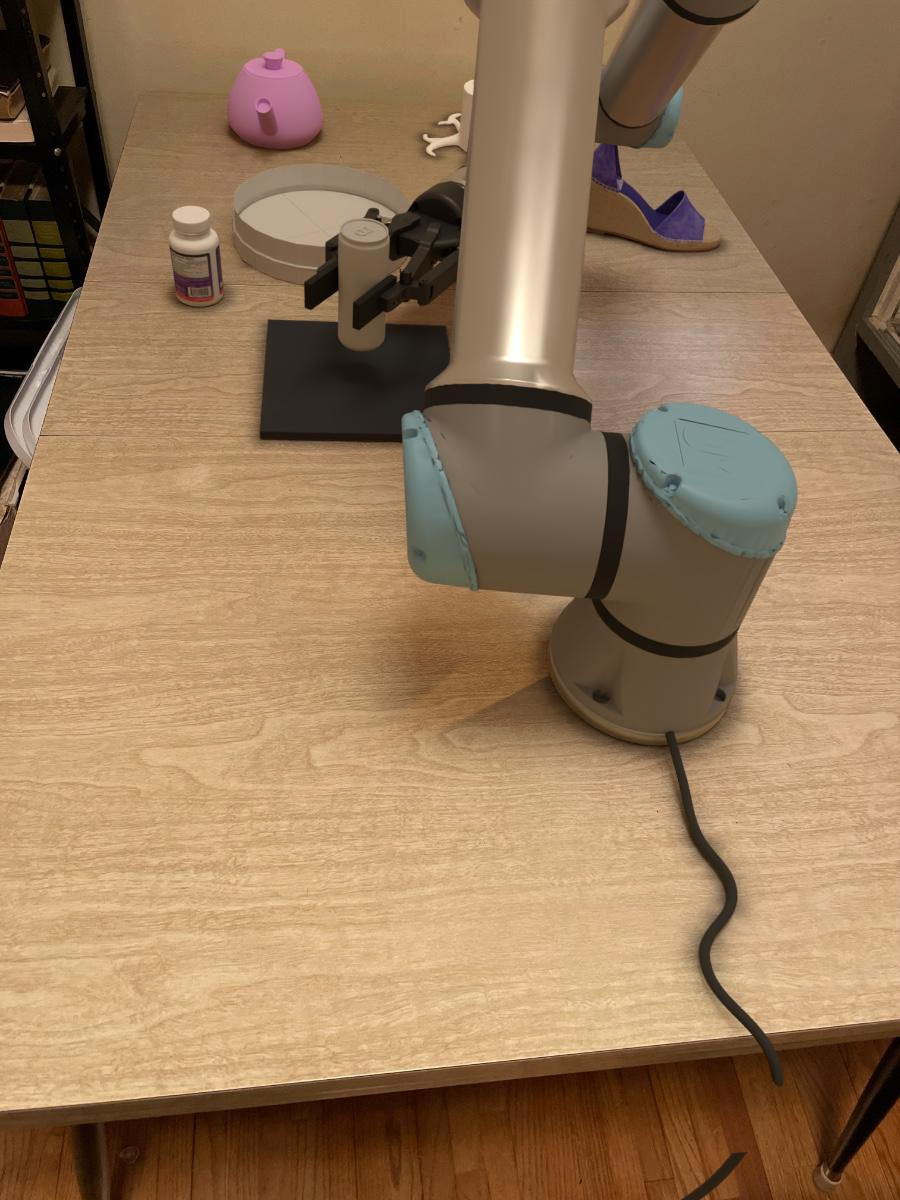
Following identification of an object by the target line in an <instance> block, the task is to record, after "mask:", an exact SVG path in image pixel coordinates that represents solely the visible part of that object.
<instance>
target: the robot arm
mask: <svg viewBox="0 0 900 1200" xmlns="http://www.w3.org/2000/svg"><path fill="white" fill-rule="evenodd" d="M463 2H464V3H465V5H466V7H467V8H468V9H469V10H470V12H471V13H472V14H473V15H474V16H475V17H476V18H477V19H478V21H479V22H478V34H477V42H476V43H477V45H476V56H475V66H474V77H473V80H474V89H473V100H472V111H471V121H470V131H469V139H468V147H467V152H466V156H465V158H466V159H465V162H464V164H462V165H461V166H459V168H457V169H455V170H454V171H453V172H452V173H450V174H449V175H447V176H445V177H444V178H442V179H441V180H439V181H438V182H436V184H433V185H432V186H431V187H429V188H428V189H426V190H425V191H424V192H422V193H421V194H419V195H418V196H417V197H416V198H415V199H414V200H413V201H412V203H411V204H410V208H409V209H408V210H407V212H405V213H401V214H397V215H395V216H394V217H393V218H387V217H382V216H381V215H379V209H377V208H369V209H368V211H367V213H366V215H365V217H363V218H367V219H373V220H376V221H379V222H381V223H383V224H384V225H385V226H386V227H387V228H388V231H389V233H388V235H389V238H390V245H389V259H390V260H391V261H396V260H398V259H400V258H403V257H405V256H408V257H409V258H410V259H409V260H408V262H407V264H406V265H405V267H404V268H399V276H397V275H394V274H392V273H390V274H388V276H387V277H386V278H385V279H383V280H382V281H381V282H379V283H378V284H377V285H375V286H374V287H373V288H371V289H370V290H369V291H367V292H366V293H365V294H363V295H362V296H361V297H359V298H358V299H357V300H355V301H354V302H353V323H352V328H354V329H357V330H360V329H362V328H363V327H364V326H365V325H367V324H368V323H369V322H370V321H372V320H373V319H374V318H376V317H377V316H378V315H379V314H381V313H382V312H383V311H384V312H386V314H388V313H391V312H393V311H394V310H395V309H396V308H398V307H399V306H400V305H402V304H403V303H406V304H407V303H409V302H410V301H411V300H412V301H416V303H417V306H418V305H419V306H420V307H427V306H429V305H430V304H431V303H433V302H434V301H435V300H436V299H437V298H439V296H441V295H442V294H443V293H444V292H446V291H447V290H448V289H449V288H451V286H453V285H454V284H456V285H455V295H454V307H453V319H452V329H451V330H452V332H451V342H450V363H449V365H448V366H447V368H446V369H445V370H444V371H443V372H442V373H441V374H439V375H438V376H437V377H436V378H435V379H434V380H432V381H431V382H430V383H429V384H428V385H427V386H426V387H425V396H424V407H423V413H421V412H420V411H418V410H414V411H413V412H411V413H407V414H405V415H404V416H403V417H402V420H401V422H402V442H401V443H402V459H403V460H402V465H403V487H404V488H403V489H404V507H405V508H404V510H405V511H404V512H405V531H406V553H407V555H406V556H407V562H408V563H407V564H408V566H409V567H410V569H411V571H412V573H413V574H414V575H415V576H416V577H417V578H418V579H420V580H422V581H423V582H426V583H429V584H433V585H434V584H435V585H441V586H442V585H443V586H448V587H449V586H450V587H458V588H464V589H465V588H466V589H468V590H469V591H472V592H479V590H480V591H481V590H482V591H494V592H505V593H514V594H515V593H516V594H526V595H527V594H528V595H539V596H541V595H542V596H549V597H550V596H553V597H561V598H562V597H563V598H573V599H572V600H571V601H570V602H569V603H568V604H567V605H565V607H564V608H563V610H562V611H561V612H560V614H559V615H558V618H557V619H556V621H555V622H554V625H553V627H552V630H551V634H550V638H549V642H548V646H547V647H548V648H547V653H546V655H547V657H546V659H547V668H548V672H549V676H550V679H551V681H552V684H553V686H554V688H555V689H556V692H557V693H558V695H559V696H560V698H561V699H562V700H563V701H564V703H565V704H566V705H567V706H568V708H570V710H571V711H572V712H574V713H575V714H576V715H577V716H578V717H579V718H580V719H581V720H583V721H584V722H586V723H587V724H588V725H590V726H592V727H593V728H595V729H597V730H599V731H601V732H602V733H604V734H607V735H609V736H611V737H613V738H616V739H619V740H622V741H625V742H629V743H632V744H633V743H634V744H639V745H646V746H647V745H648V746H668V750H669V754H670V756H671V761H672V764H673V768H674V773H675V776H676V780H677V783H678V787H679V792H680V797H681V803H682V807H683V811H684V815H685V819H686V822H687V826H688V828H689V830H690V833H691V835H692V837H693V839H694V842H695V843H696V845H697V846H698V847H699V849H700V851H702V853H703V854H704V856H706V858H707V859H708V860H709V861H710V862H711V864H712V865H713V866H714V867H715V868H716V870H717V872H718V873H719V874H720V876H721V877H722V879H723V881H724V885H725V888H726V889H725V890H726V899H725V903H724V906H723V908H722V909H721V911H720V913H718V915H717V917H716V918H715V919H714V920H713V921H712V923H711V924H710V925H709V926H708V928H707V929H706V930H705V932H704V934H703V936H702V938H701V940H700V944H699V948H698V960H699V961H698V962H699V967H700V969H701V973H702V975H703V977H704V980H705V982H706V984H707V985H708V987H709V989H710V990H711V992H712V993H713V994H714V996H715V997H716V998H717V999H718V1001H719V1002H720V1003H721V1004H722V1005H723V1006H724V1007H725V1009H726V1010H727V1011H728V1012H729V1013H730V1014H731V1015H732V1016H733V1017H734V1018H735V1019H736V1020H737V1021H738V1022H739V1023H740V1024H741V1025H742V1026H743V1027H744V1028H745V1029H746V1030H747V1031H748V1032H749V1034H750V1035H751V1036H752V1037H753V1038H754V1039H755V1041H756V1042H757V1044H758V1045H759V1047H760V1048H761V1050H762V1052H763V1054H764V1055H765V1059H766V1061H767V1063H768V1067H769V1071H770V1076H771V1080H772V1082H773V1083H774V1085H775V1086H777V1087H778V1088H780V1087H783V1086H784V1083H785V1079H784V1078H785V1077H784V1071H783V1067H782V1064H781V1061H780V1057H779V1055H778V1053H777V1050H776V1049H775V1047H774V1045H773V1043H772V1041H771V1039H769V1037H768V1036H767V1034H766V1033H765V1032H764V1030H763V1029H762V1027H760V1026H759V1024H758V1023H757V1022H756V1021H755V1020H754V1019H753V1017H751V1016H750V1014H748V1012H746V1011H745V1010H744V1008H742V1007H741V1006H740V1005H739V1004H738V1002H736V1001H735V999H734V998H732V997H731V995H730V994H729V993H728V992H727V990H725V988H724V987H723V986H722V985H721V983H720V982H719V980H718V978H717V976H716V974H715V971H714V969H713V966H712V965H713V964H712V961H711V950H712V946H713V943H714V941H715V939H716V937H717V936H718V934H719V933H720V932H721V931H722V930H723V928H724V927H725V926H726V925H727V924H728V922H729V921H730V919H731V918H732V917H733V915H734V913H735V912H736V909H737V905H738V900H739V899H738V898H739V896H738V887H737V884H736V880H735V877H734V875H733V874H732V871H731V870H730V868H729V866H728V865H727V864H726V863H725V861H724V860H723V859H722V858H721V856H720V855H719V854H718V853H717V852H716V851H715V849H714V848H713V847H712V846H711V845H710V844H709V842H708V841H707V839H706V838H705V836H704V834H703V832H702V829H701V828H700V825H699V822H698V818H697V816H696V812H695V807H694V804H693V803H694V802H693V800H692V794H691V790H690V785H689V781H688V777H687V774H686V773H687V772H686V769H685V765H684V762H683V759H682V756H681V752H680V748H679V745H678V744H681V743H685V742H688V741H692V740H694V739H696V738H698V737H701V736H702V735H704V734H706V733H707V732H708V731H710V730H712V728H713V727H715V726H716V724H717V723H718V722H719V721H720V720H721V719H722V717H723V716H724V715H725V712H726V711H727V708H728V707H729V704H730V703H731V701H732V699H733V696H734V694H735V691H736V686H737V681H738V672H739V670H738V667H739V666H738V664H739V663H738V662H739V661H738V652H739V651H738V650H739V649H738V648H739V647H738V646H739V645H738V632H739V630H740V628H741V626H742V623H743V621H744V620H745V617H746V616H747V613H748V611H749V610H750V608H751V606H752V603H753V601H754V599H755V597H756V596H757V594H758V591H759V590H760V588H761V586H762V583H763V581H764V580H765V578H766V575H767V573H768V571H769V569H770V567H771V565H772V563H773V561H774V559H775V557H776V556H777V554H778V553H779V552H780V551H781V550H782V549H783V547H784V545H785V543H786V539H787V532H788V529H789V526H790V523H791V521H792V518H793V515H794V513H795V511H796V507H797V503H798V497H799V495H798V494H799V493H798V483H797V478H796V475H795V473H794V469H793V468H792V465H791V464H790V462H789V460H788V459H787V457H786V456H785V454H784V453H783V452H782V451H781V449H780V448H779V447H778V446H777V445H776V444H775V443H774V442H773V441H772V440H771V439H770V438H769V437H767V436H766V435H764V434H763V433H761V432H760V431H759V430H758V429H757V428H756V427H755V426H753V425H751V424H750V423H749V422H747V421H745V420H744V419H742V418H740V417H737V416H735V415H734V414H731V413H729V412H727V411H724V410H721V409H718V408H715V407H712V406H708V405H704V404H698V403H693V402H692V403H691V402H671V403H665V404H661V405H660V406H659V407H658V408H652V409H649V410H648V411H646V412H645V413H644V414H643V415H642V416H641V417H640V418H639V419H638V421H637V422H635V424H634V426H632V428H631V432H630V433H626V432H625V433H623V432H613V431H603V430H594V429H593V428H592V415H593V405H594V404H593V398H592V397H591V396H590V395H589V393H588V392H587V391H586V390H585V388H584V387H583V386H582V385H581V384H580V383H579V381H578V380H577V378H576V376H575V374H574V369H575V359H576V349H577V338H578V336H577V335H578V327H579V315H580V305H581V304H580V303H581V293H582V283H583V273H584V260H585V251H586V239H587V231H586V230H587V219H588V209H589V198H590V187H591V176H592V165H593V155H594V151H595V144H600V143H602V144H610V145H618V147H626V148H632V149H634V150H640V149H644V148H645V149H663V148H665V147H667V146H668V145H669V144H670V143H672V140H673V138H674V136H675V131H676V130H677V128H678V125H679V121H680V117H681V113H682V106H683V99H684V85H683V84H685V82H686V80H687V79H688V78H689V76H690V75H691V74H692V72H693V71H694V70H695V68H696V66H697V65H698V64H699V62H701V60H702V59H703V56H705V54H706V52H707V51H708V50H709V48H710V47H711V46H712V44H713V43H714V41H715V40H716V39H717V38H718V36H719V34H720V33H721V32H722V30H723V29H724V28H725V26H726V25H729V24H732V23H734V22H736V21H738V20H740V19H741V18H743V17H744V16H746V15H747V14H749V13H750V11H751V10H753V9H754V8H755V7H756V5H758V3H759V2H760V0H636V1H635V2H634V5H633V7H632V9H631V11H630V13H629V15H628V17H627V19H626V22H625V23H624V26H623V28H622V30H621V32H620V34H619V36H618V38H617V40H616V42H615V44H614V46H613V47H612V51H611V53H610V55H609V57H608V58H607V61H606V63H605V64H603V57H604V45H605V34H606V29H607V28H608V27H610V26H611V25H612V24H613V23H614V22H616V21H617V20H618V19H619V18H620V17H621V16H622V15H623V14H624V13H625V12H626V10H627V8H628V7H629V4H630V2H631V0H463ZM338 236H339V234H337V235H336V236H334V237H332V238H331V239H329V240H328V241H326V242H325V263H324V264H323V265H322V266H320V267H319V268H318V269H317V274H315V275H314V276H312V277H311V278H309V279H308V280H306V281H305V282H304V285H303V295H304V297H303V298H304V304H303V305H304V309H307V310H308V311H312V310H314V309H315V308H317V307H318V306H319V305H321V304H322V303H323V302H325V301H326V300H328V299H329V298H330V297H332V296H333V295H335V294H336V293H338ZM408 257H407V258H408ZM398 278H399V279H398ZM747 1154H748V1151H742V1152H741V1151H740V1152H732V1153H731V1154H730V1155H729V1156H728V1157H727V1158H726V1159H725V1161H724V1162H723V1163H722V1164H721V1166H719V1168H717V1169H716V1171H714V1172H713V1174H712V1175H710V1176H709V1177H708V1178H707V1179H706V1180H705V1181H704V1182H702V1183H701V1184H700V1185H699V1186H697V1187H696V1188H695V1189H694V1190H692V1191H691V1192H690V1193H688V1194H687V1195H685V1196H683V1198H681V1199H680V1200H703V1198H705V1197H706V1196H708V1195H709V1194H710V1193H711V1192H713V1191H714V1190H715V1189H717V1187H718V1186H719V1185H721V1184H722V1183H723V1182H724V1181H725V1180H726V1179H727V1178H728V1177H729V1176H730V1175H731V1173H732V1172H733V1171H734V1170H735V1169H736V1168H737V1167H738V1166H739V1164H740V1163H741V1162H742V1161H743V1159H744V1157H745V1156H746V1155H747Z"/></svg>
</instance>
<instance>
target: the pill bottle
mask: <svg viewBox="0 0 900 1200" xmlns="http://www.w3.org/2000/svg"><path fill="white" fill-rule="evenodd" d="M171 218H172V225H173V230H172V231H171V232H170V233H169V235H168V246H169V252H170V260H171V267H172V274H173V281H174V290H175V295H176V298H177V299H178V301H180V302H181V303H182V304H185V305H187V306H191V307H198V308H199V307H201V308H203V307H210V306H212V305H215V304H217V303H218V302H220V301H221V300H222V298H223V296H224V281H223V280H224V278H223V269H222V258H221V249H220V248H221V247H220V239H219V235H218V234H217V232H216V231H215V230H214V229H213V228H212V221H211V214H210V212H209V210H207V208H204V207H202V206H197V205H185V206H180V207H178V208H176V209H174V210H173V211H172V213H171Z"/></svg>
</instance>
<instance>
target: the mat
mask: <svg viewBox="0 0 900 1200" xmlns="http://www.w3.org/2000/svg"><path fill="white" fill-rule="evenodd" d="M266 327H267V329H266V342H265V343H266V344H265V355H264V356H265V357H264V367H263V368H264V369H263V380H262V381H263V382H262V397H261V398H262V399H261V407H260V408H261V409H260V425H259V438H260V440H289V441H290V440H291V441H294V440H295V441H336V442H337V441H339V442H343V441H344V442H385V443H386V442H388V443H389V442H390V443H393V442H395V443H402V422H401V420H402V417H403V416H404V415H405V414H407V413H411V412H413V411H414V410H418V411H420V412H421V413H423V407H424V396H425V387H426V386H427V385H428V384H429V383H430V382H431V381H432V380H434V379H435V378H436V377H437V376H438V375H439V374H441V373H442V372H443V371H444V370H445V369H446V368H447V366H448V365H449V363H450V351H451V348H450V344H449V343H450V342H449V338H448V337H449V336H448V330H447V325H441V324H440V325H438V324H437V325H436V324H414V323H413V324H410V323H386V324H385V338H384V341H383V342H382V344H381V345H380V346H379V347H377V348H376V349H373V350H370V351H354V350H351V349H349V348H347V347H346V346H344V345H343V344H342V343H341V341H340V340H339V338H338V321H327V320H326V321H325V320H324V321H323V320H301V319H300V320H299V319H298V320H297V319H273V318H272V319H271V318H270V319H267V326H266Z"/></svg>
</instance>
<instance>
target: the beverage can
mask: <svg viewBox="0 0 900 1200" xmlns="http://www.w3.org/2000/svg"><path fill="white" fill-rule="evenodd" d="M388 233H389V231H388V228H387V227H386V226H385V225H384V224H383V223H381V222H379V221H376V220H373V219H367V218H356V219H351V220H347V221H346V222H344V223H343V224H342V225H341V227H340V233H339V236H338V291H337V322H338V338H339V340H340V341H341V343H342V344H343V345H344V346H346V347H347V348H349V349H351V350H354V351H370V350H373V349H376V348H377V347H379V346H380V345H381V344H382V342H383V341H384V338H385V324H387V323H386V321H387V313H386V312H384V311H383V312H382V313H381V314H379V315H378V316H377V317H376V318H374V319H373V320H372V321H370V322H369V323H368V324H367V325H365V326H364V327H363V328H362V329H360V330H357V329H354V328H352V323H353V302H354V301H355V300H357V299H358V298H359V297H361V296H362V295H363V294H365V293H366V292H367V291H369V290H370V289H371V288H373V287H374V286H375V285H377V284H378V283H379V282H381V281H382V280H383V279H385V278H386V277H387V276H389V274H388V264H389V245H390V238H389V235H388Z"/></svg>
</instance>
